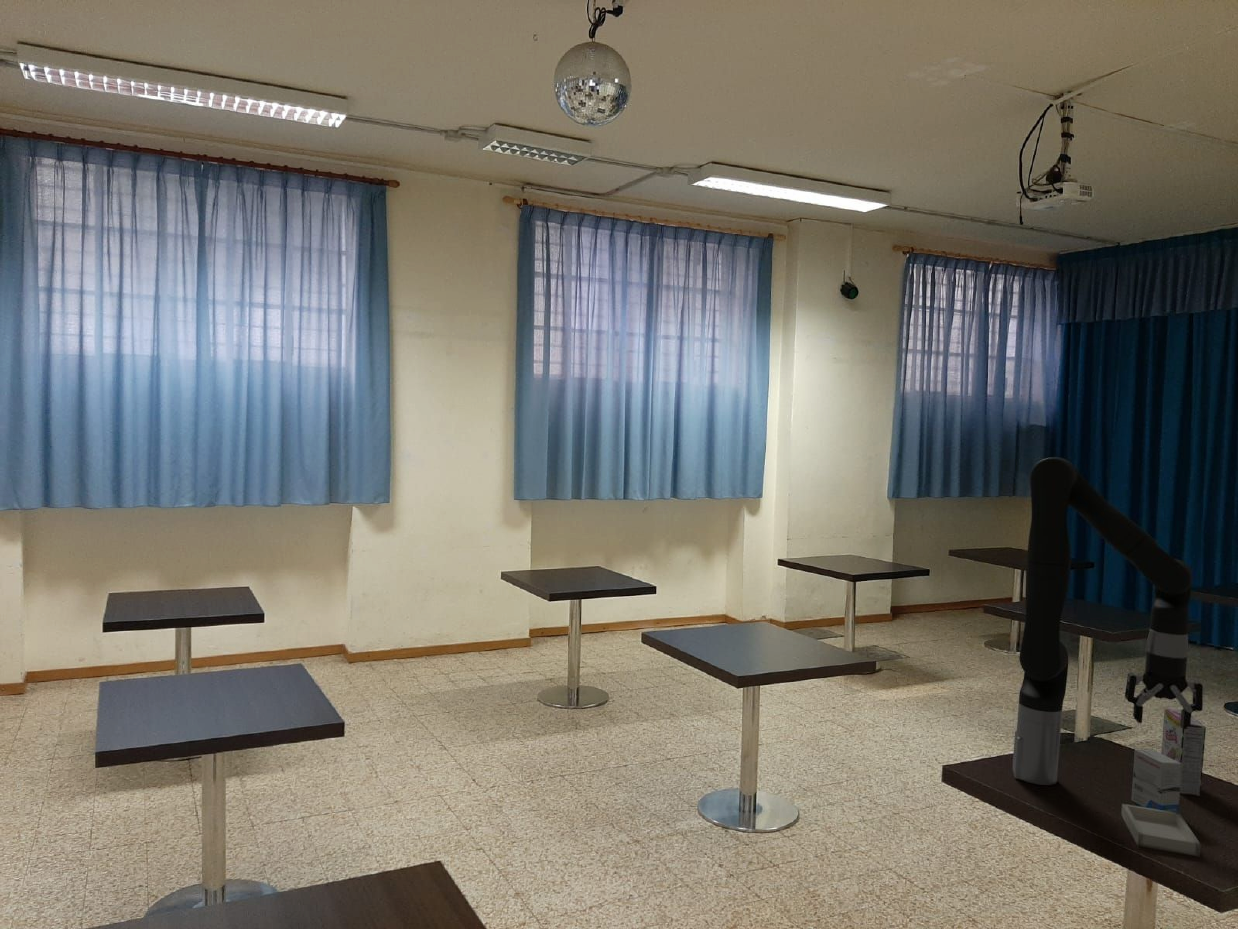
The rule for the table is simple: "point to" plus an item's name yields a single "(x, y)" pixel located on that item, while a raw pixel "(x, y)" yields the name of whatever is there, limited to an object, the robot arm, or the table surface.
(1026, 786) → the table surface
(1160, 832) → the tray
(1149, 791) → the ink box
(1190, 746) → the candy bar box
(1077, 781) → the table surface
